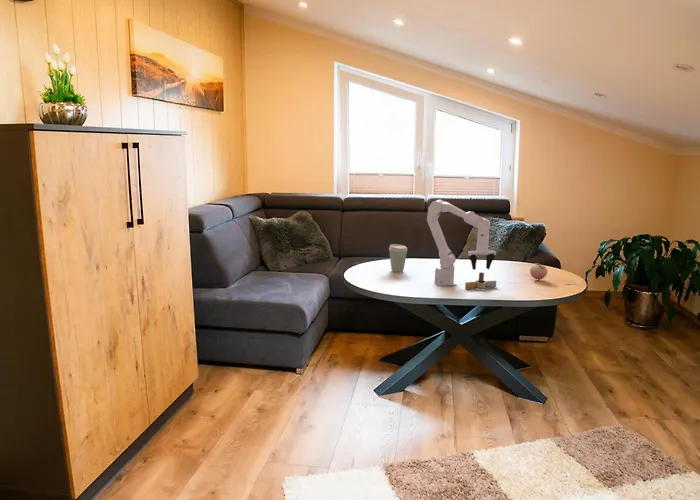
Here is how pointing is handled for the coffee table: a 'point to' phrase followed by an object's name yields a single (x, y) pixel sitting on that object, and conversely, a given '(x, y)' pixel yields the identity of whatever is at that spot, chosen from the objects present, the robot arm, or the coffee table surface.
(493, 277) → the coffee table surface
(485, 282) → the hinge
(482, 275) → the hinge pin
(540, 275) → the decorative fruit
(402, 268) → the disposable coffee cup
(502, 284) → the coffee table surface
